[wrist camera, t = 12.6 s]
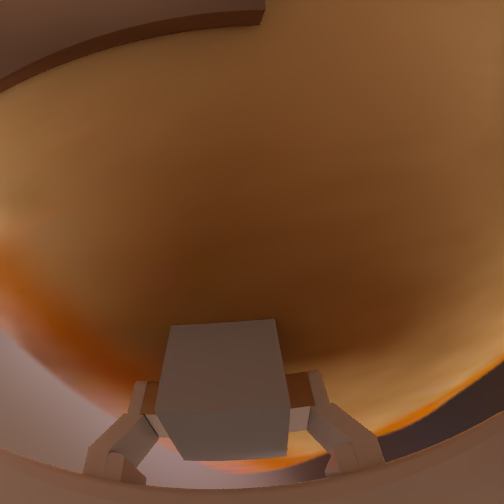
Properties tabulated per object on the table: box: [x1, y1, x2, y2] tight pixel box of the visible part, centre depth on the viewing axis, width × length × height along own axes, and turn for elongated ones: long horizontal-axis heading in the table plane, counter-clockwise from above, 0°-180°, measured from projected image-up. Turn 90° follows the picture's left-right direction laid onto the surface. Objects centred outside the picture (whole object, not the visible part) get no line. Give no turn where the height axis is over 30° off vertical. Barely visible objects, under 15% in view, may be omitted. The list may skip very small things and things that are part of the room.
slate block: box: [155, 318, 291, 461], centre depth 10 cm, size 4×4×4 cm
